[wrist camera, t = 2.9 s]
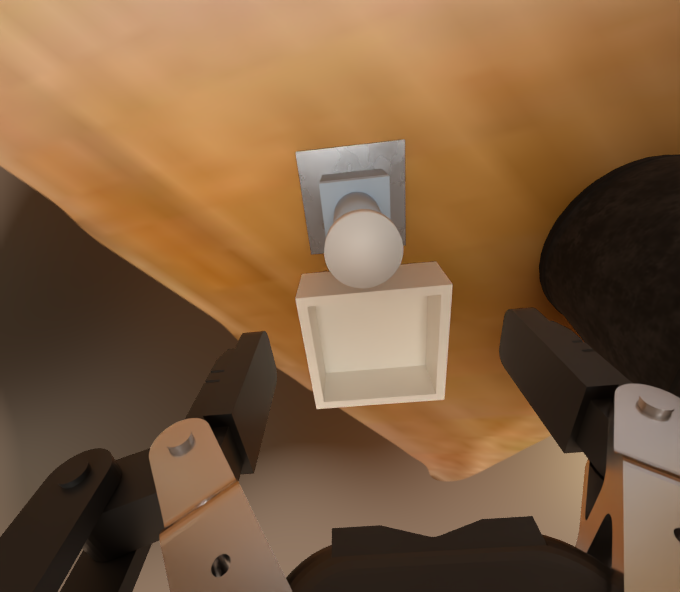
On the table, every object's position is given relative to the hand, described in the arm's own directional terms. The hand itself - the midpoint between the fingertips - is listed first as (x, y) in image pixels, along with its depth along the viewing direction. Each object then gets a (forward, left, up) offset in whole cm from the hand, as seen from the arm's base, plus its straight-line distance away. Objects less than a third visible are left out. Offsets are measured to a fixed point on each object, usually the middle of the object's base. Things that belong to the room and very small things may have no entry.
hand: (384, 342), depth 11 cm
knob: (0, 0, -23) cm, 23 cm away
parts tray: (+15, +1, -24) cm, 28 cm away
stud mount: (0, 0, -24) cm, 24 cm away
